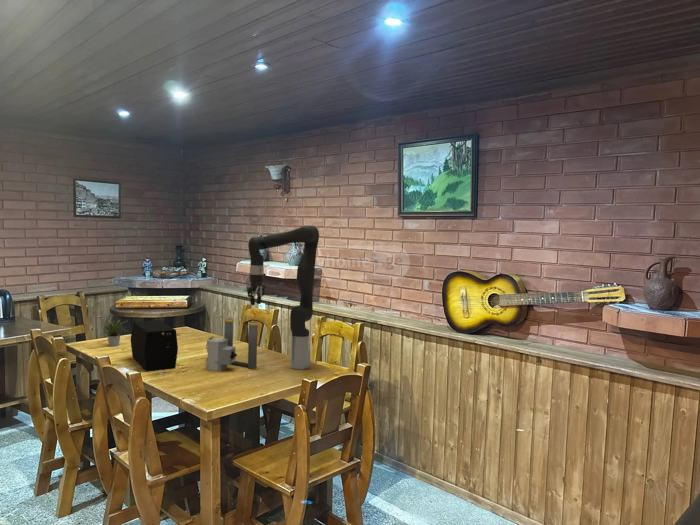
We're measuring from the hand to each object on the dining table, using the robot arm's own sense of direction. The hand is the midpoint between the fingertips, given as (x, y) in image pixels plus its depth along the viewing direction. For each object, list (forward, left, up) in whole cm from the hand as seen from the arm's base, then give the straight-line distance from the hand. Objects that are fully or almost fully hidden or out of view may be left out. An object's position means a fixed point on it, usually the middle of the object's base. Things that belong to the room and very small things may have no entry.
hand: (255, 304), depth 273 cm
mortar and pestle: (+19, +10, -32) cm, 38 cm away
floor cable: (0, +13, -31) cm, 34 cm away
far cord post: (+8, +13, -31) cm, 35 cm away
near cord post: (-8, +13, -31) cm, 35 cm away
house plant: (+90, +17, -32) cm, 97 cm away
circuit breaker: (+3, +23, -32) cm, 39 cm away
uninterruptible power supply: (+40, +34, -32) cm, 61 cm away
